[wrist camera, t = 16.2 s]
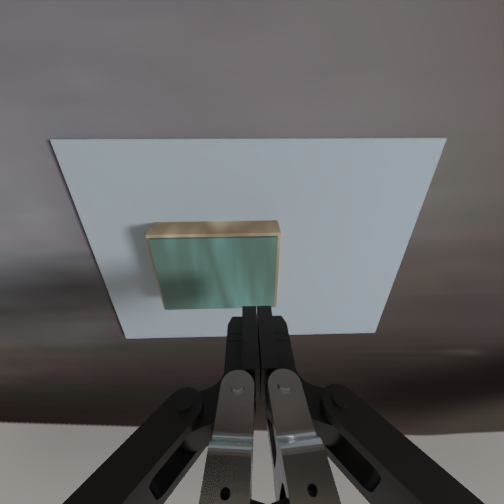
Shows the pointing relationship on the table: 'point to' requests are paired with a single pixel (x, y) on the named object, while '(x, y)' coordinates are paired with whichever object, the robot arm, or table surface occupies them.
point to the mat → (254, 219)
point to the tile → (215, 263)
